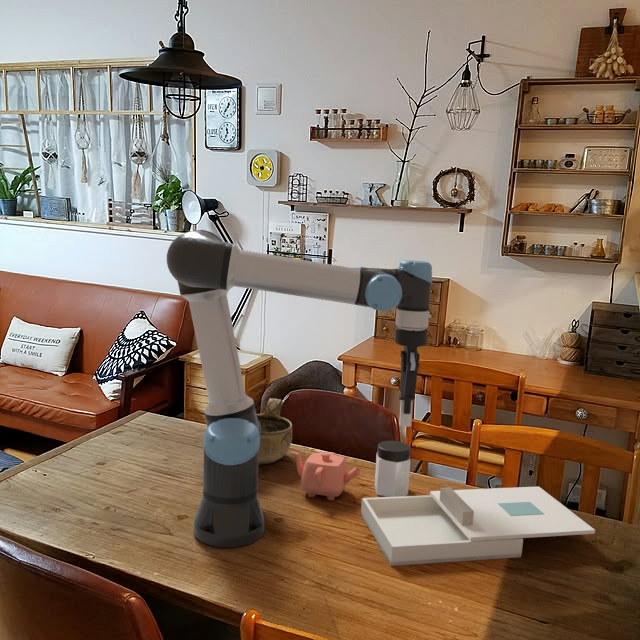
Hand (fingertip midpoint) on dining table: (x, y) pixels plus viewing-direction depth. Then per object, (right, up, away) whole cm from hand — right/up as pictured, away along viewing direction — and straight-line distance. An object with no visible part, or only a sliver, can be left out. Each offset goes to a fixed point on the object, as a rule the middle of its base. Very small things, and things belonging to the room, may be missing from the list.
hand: (405, 425), depth 153 cm
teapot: (-19, -18, +5) cm, 27 cm away
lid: (+21, -18, -10) cm, 30 cm away
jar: (-2, -18, +8) cm, 20 cm away
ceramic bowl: (-37, -14, +24) cm, 46 cm away
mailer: (+5, -22, -13) cm, 26 cm away
